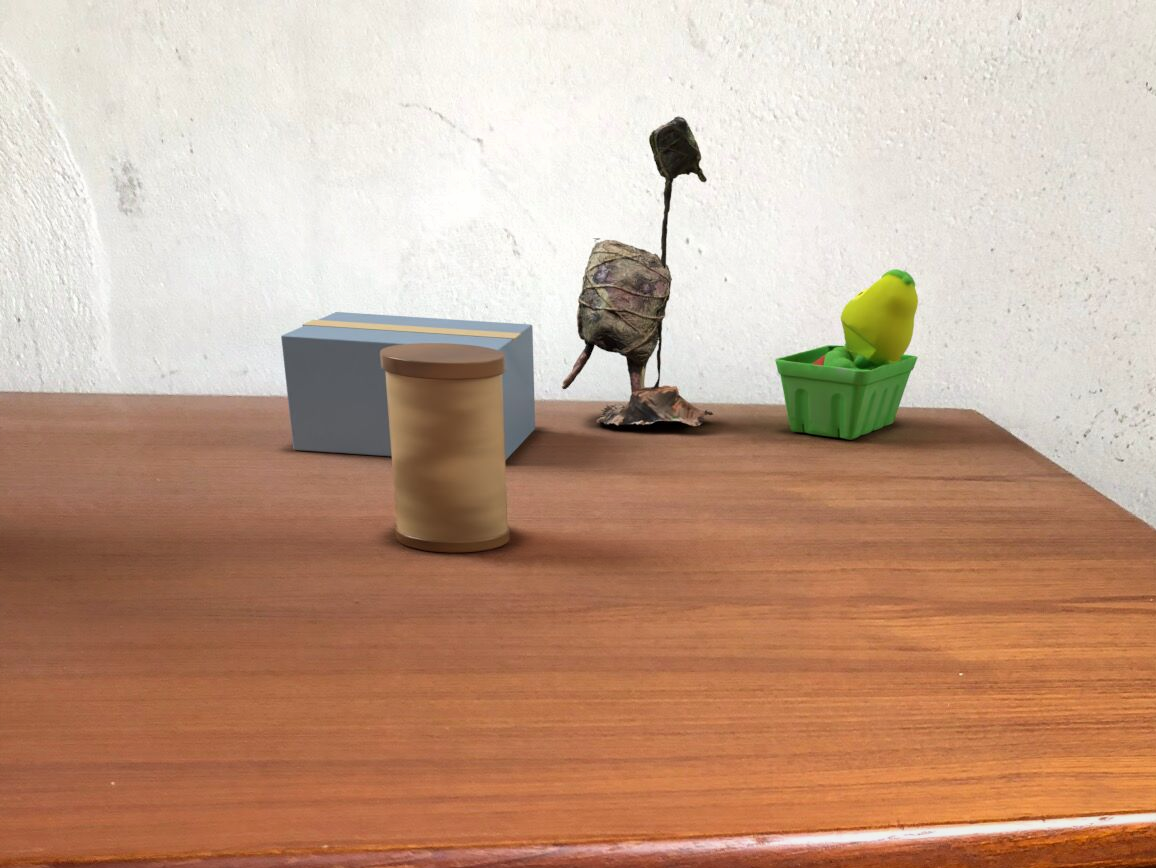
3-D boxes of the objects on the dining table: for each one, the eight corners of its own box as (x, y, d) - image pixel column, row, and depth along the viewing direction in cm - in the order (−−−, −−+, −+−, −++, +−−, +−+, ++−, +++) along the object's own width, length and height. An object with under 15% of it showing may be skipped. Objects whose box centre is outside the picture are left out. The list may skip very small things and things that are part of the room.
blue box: (291, 450, 100) (278, 334, 96) (343, 416, 110) (333, 310, 106) (504, 464, 99) (500, 348, 96) (536, 429, 110) (534, 323, 106)
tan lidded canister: (380, 549, 81) (364, 357, 76) (410, 520, 86) (397, 339, 81) (499, 557, 81) (491, 366, 76) (521, 527, 86) (515, 347, 81)
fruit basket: (825, 410, 122) (836, 255, 116) (928, 425, 119) (945, 266, 113) (767, 432, 113) (775, 265, 107) (876, 448, 110) (891, 278, 104)
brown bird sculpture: (592, 406, 118) (589, 109, 108) (727, 422, 116) (738, 119, 105) (547, 423, 112) (540, 108, 101) (690, 440, 109) (697, 119, 99)
